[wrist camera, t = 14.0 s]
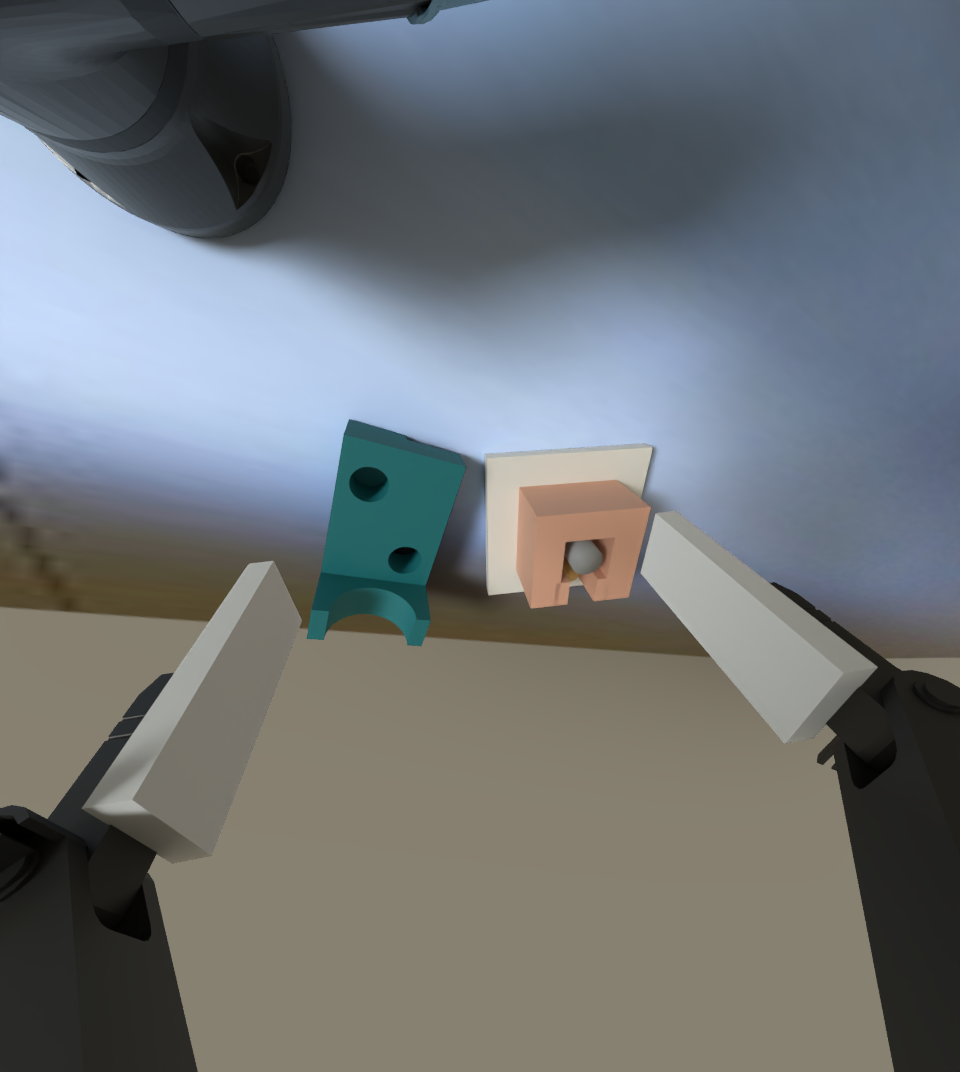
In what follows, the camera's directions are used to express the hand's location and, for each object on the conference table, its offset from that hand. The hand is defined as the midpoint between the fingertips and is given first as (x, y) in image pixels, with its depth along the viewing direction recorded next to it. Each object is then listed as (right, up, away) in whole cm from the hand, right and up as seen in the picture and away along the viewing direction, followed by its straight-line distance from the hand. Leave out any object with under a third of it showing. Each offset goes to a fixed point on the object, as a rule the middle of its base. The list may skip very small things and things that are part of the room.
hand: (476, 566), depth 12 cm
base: (+10, +3, +30) cm, 31 cm away
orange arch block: (+10, +2, +28) cm, 30 cm away
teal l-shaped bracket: (-10, +4, +26) cm, 29 cm away
